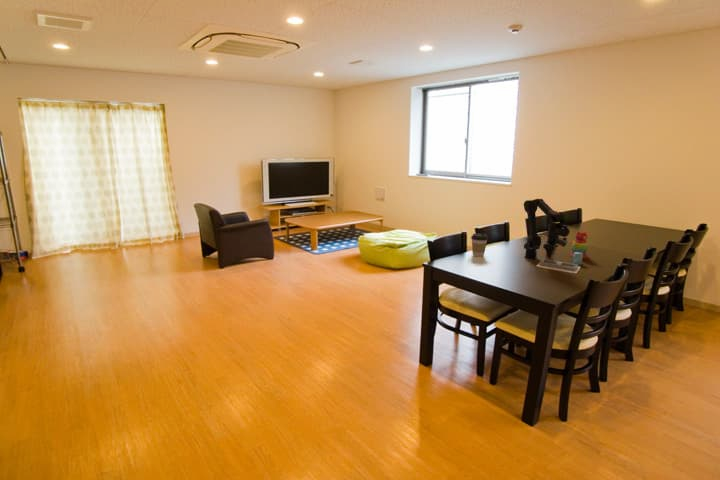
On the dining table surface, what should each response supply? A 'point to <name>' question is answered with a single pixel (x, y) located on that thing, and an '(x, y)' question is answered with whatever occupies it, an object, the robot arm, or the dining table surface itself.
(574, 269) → the tray
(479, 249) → the coffee cup
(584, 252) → the stacking bear
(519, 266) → the dining table surface
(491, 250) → the dining table surface
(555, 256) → the walnut block
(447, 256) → the dining table surface
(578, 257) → the teal cylinder
